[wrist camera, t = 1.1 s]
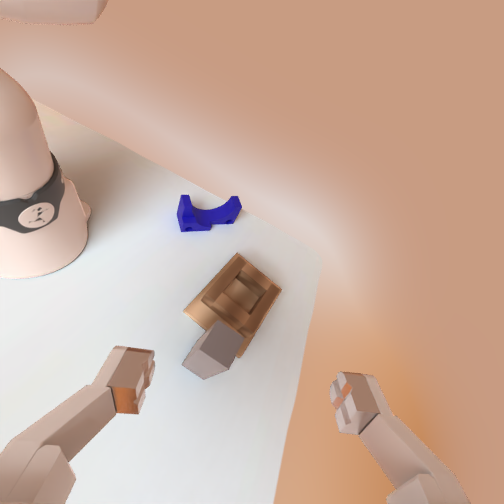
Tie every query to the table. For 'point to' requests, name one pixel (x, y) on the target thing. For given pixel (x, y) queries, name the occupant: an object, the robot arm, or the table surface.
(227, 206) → the blue cradle bracket
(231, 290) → the socket board
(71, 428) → the robot arm
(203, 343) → the peg
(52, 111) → the table surface
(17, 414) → the table surface
